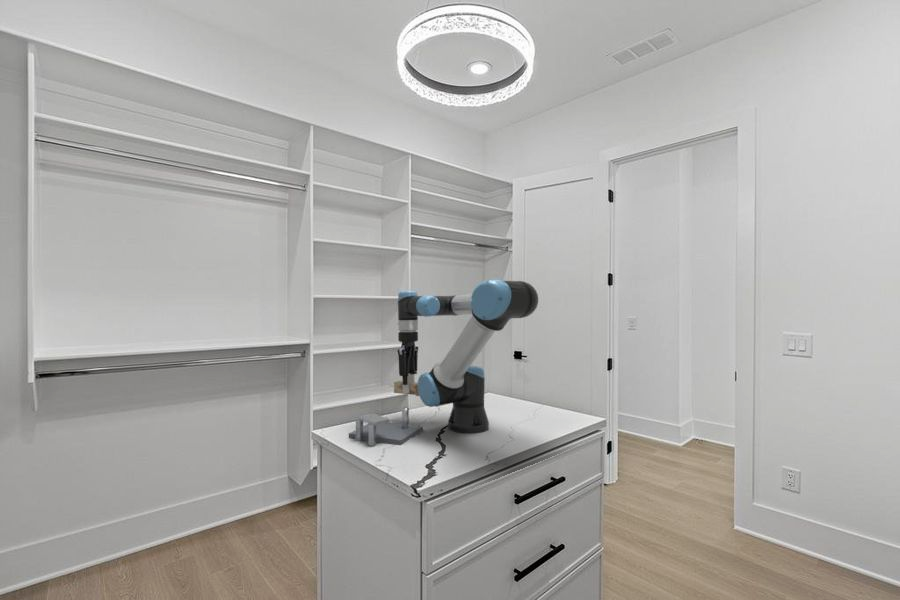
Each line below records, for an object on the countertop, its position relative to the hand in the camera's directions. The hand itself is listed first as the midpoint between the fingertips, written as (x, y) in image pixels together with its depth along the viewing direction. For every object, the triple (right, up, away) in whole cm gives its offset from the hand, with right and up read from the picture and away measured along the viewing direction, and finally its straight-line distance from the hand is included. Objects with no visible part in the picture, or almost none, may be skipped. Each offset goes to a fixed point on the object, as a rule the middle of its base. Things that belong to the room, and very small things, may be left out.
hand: (408, 391), depth 170 cm
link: (+3, -1, -1) cm, 3 cm away
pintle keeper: (-8, -12, -18) cm, 23 cm away
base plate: (-6, -12, -15) cm, 20 cm away
